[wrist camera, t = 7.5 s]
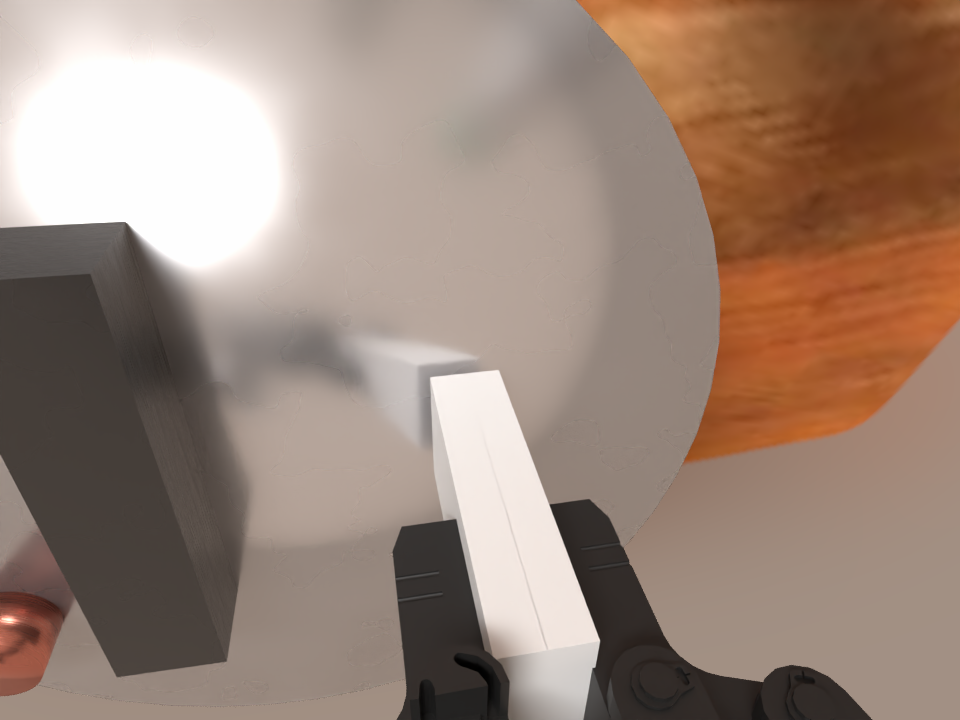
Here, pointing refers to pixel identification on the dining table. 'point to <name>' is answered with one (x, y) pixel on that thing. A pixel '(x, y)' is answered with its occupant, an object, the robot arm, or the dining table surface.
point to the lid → (313, 317)
